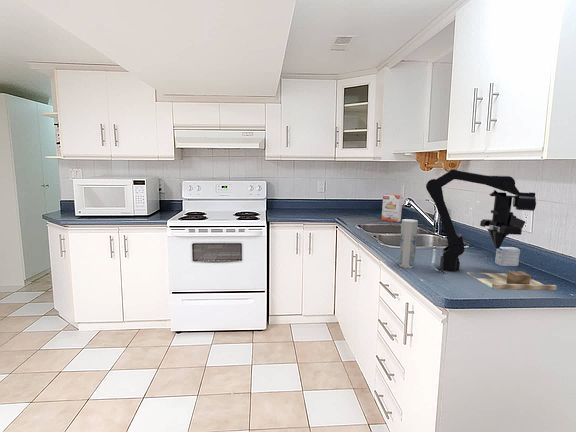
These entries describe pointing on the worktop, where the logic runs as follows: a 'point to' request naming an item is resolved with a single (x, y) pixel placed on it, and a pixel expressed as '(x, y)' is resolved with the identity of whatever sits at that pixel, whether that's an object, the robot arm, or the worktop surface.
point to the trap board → (501, 283)
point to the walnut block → (518, 277)
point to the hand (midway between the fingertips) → (497, 248)
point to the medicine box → (507, 256)
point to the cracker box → (392, 207)
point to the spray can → (408, 243)
